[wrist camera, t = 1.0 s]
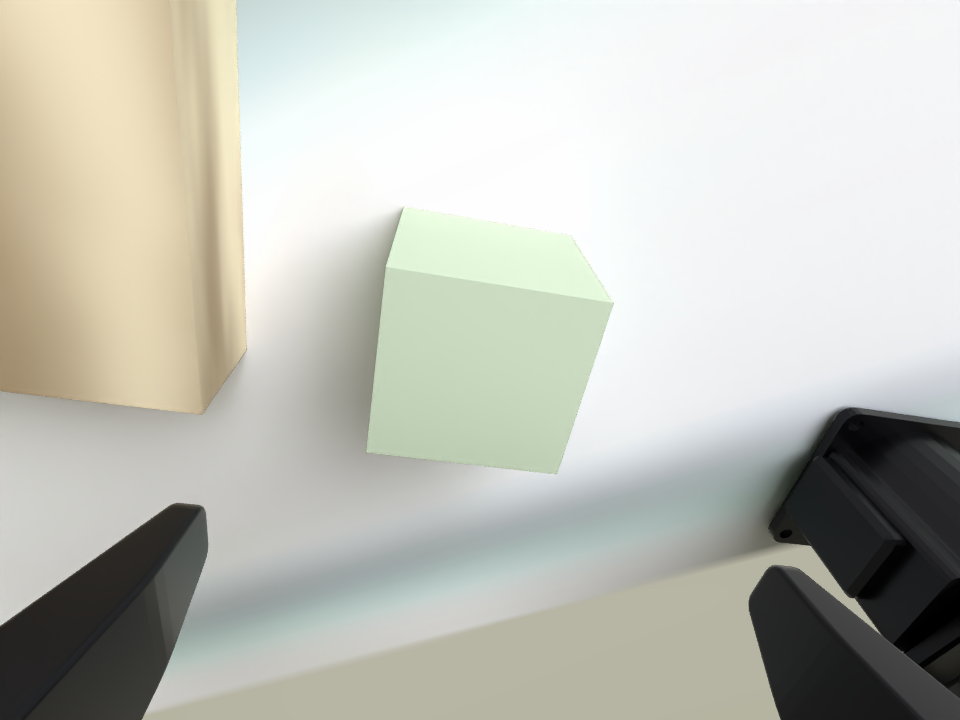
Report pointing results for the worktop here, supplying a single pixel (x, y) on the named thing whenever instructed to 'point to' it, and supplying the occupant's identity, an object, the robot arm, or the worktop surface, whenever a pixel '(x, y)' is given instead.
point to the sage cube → (483, 343)
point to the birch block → (120, 201)
